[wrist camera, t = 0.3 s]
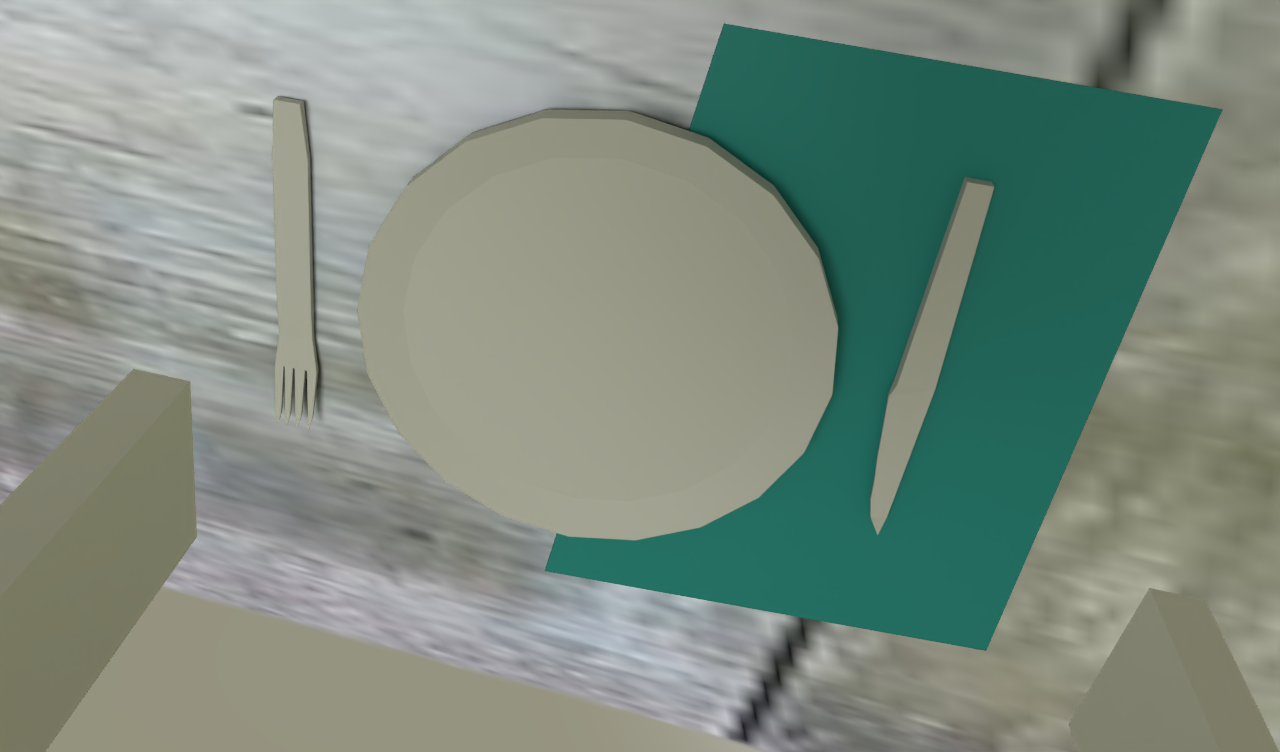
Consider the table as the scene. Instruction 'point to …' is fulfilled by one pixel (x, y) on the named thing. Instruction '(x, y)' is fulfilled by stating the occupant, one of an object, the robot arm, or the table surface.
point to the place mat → (767, 322)
